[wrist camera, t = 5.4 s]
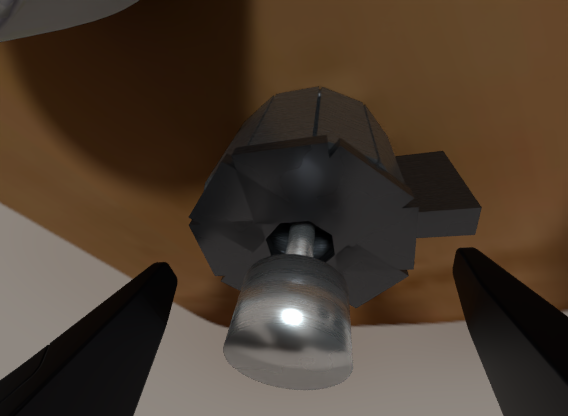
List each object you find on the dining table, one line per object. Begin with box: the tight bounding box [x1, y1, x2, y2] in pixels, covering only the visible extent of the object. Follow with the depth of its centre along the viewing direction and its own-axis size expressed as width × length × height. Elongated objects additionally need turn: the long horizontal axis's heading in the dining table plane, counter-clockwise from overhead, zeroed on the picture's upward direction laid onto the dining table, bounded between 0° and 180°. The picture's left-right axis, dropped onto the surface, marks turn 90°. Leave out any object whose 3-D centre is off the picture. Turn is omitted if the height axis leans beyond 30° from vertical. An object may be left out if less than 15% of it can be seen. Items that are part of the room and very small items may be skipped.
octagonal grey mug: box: [189, 86, 482, 308], centre depth 12 cm, size 9×7×6 cm
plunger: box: [223, 221, 353, 390], centre depth 10 cm, size 5×5×8 cm
